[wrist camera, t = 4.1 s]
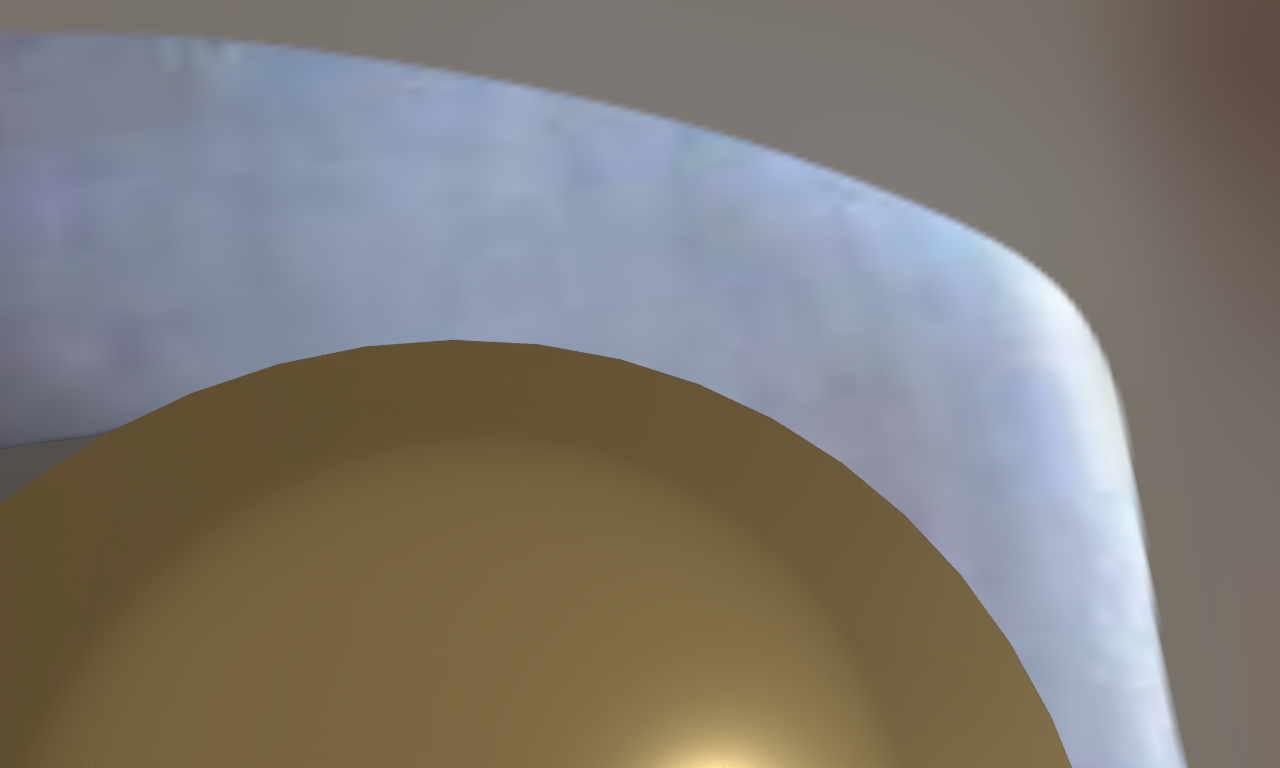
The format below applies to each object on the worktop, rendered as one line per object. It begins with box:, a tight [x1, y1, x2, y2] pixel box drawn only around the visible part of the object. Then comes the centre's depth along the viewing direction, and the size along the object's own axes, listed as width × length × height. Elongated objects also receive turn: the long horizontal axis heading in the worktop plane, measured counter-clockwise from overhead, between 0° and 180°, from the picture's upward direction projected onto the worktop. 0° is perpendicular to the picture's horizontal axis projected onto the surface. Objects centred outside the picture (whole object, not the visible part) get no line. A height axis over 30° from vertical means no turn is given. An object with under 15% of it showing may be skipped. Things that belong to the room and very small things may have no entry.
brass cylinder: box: [0, 340, 1072, 768], centre depth 9 cm, size 5×5×13 cm
